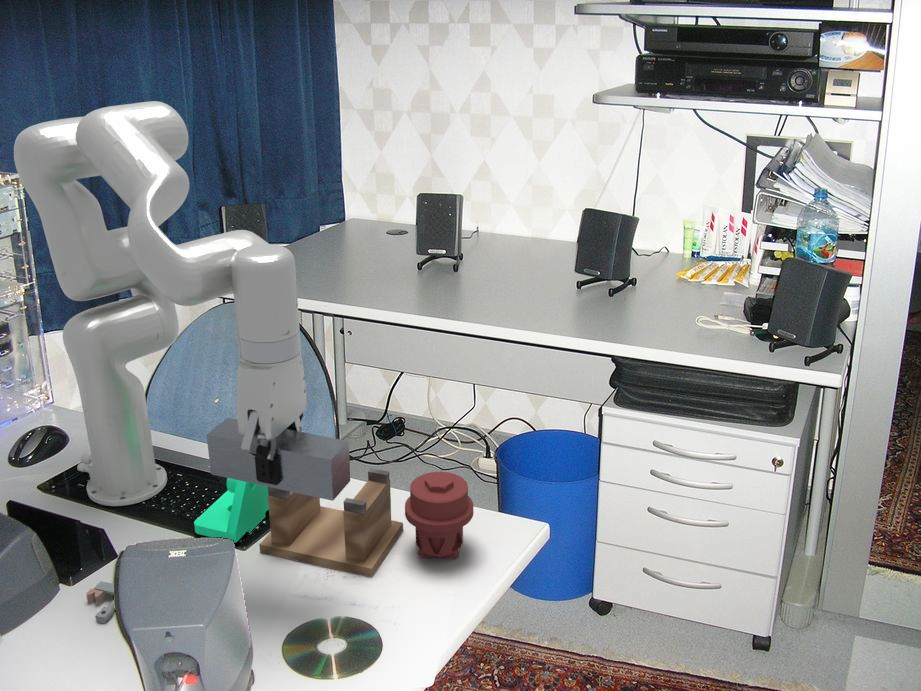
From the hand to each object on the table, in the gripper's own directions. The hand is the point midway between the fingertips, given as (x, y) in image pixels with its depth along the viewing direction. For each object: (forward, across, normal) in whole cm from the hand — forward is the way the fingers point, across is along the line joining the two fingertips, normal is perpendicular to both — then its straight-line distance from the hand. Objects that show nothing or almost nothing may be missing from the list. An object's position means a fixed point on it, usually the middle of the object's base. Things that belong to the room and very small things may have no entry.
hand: (279, 470), depth 120 cm
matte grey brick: (+1, 0, 0) cm, 1 cm away
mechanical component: (+19, -15, +17) cm, 30 cm away
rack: (+19, -12, +1) cm, 23 cm away
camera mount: (+20, -12, -16) cm, 28 cm away
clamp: (+20, +10, -17) cm, 28 cm away
